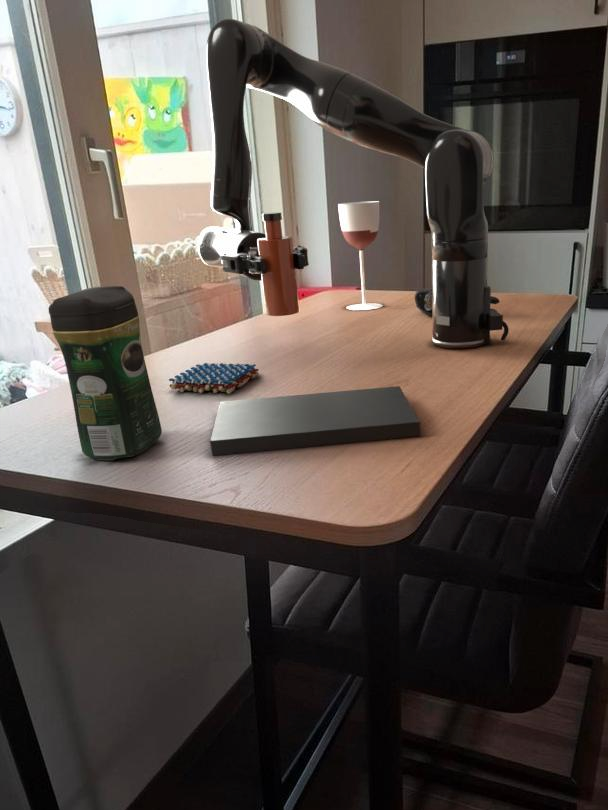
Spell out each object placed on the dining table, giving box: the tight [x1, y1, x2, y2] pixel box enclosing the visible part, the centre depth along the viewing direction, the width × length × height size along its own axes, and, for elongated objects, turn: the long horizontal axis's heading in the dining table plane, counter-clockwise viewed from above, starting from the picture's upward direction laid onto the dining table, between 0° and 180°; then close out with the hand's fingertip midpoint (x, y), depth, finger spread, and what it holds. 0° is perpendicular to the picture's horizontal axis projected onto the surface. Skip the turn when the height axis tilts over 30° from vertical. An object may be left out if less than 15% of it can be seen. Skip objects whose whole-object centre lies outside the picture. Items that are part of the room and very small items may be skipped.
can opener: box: [414, 288, 501, 317], centre depth 143 cm, size 18×7×6 cm, turn 67°
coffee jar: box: [48, 285, 163, 461], centre depth 80 cm, size 10×8×19 cm
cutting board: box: [209, 385, 421, 456], centre depth 87 cm, size 24×15×2 cm, turn 96°
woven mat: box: [168, 362, 260, 395], centre depth 107 cm, size 10×11×2 cm
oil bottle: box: [257, 211, 300, 317], centre depth 106 cm, size 5×5×14 cm
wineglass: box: [337, 200, 384, 311], centre depth 155 cm, size 9×10×22 cm
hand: (282, 264), depth 103 cm, fingers closed on oil bottle, 5 cm apart
